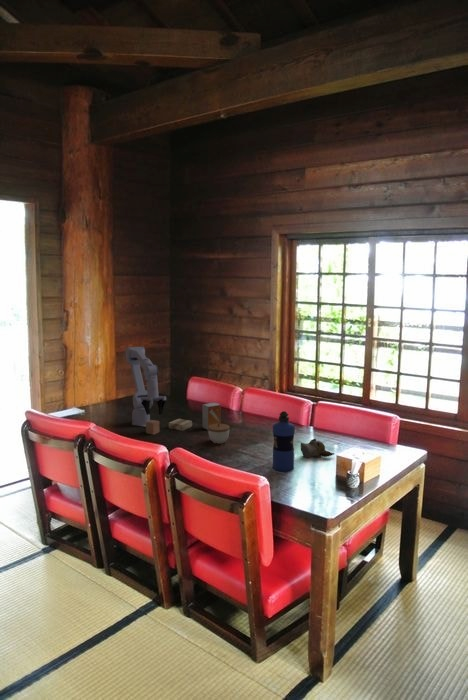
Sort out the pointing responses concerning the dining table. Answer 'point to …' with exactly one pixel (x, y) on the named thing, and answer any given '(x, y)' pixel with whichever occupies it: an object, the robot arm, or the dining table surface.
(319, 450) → the ceramic sculpture
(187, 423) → the maple base block
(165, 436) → the dining table surface
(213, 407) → the small box
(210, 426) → the lidded jar
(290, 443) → the water bottle
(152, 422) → the terracotta block
